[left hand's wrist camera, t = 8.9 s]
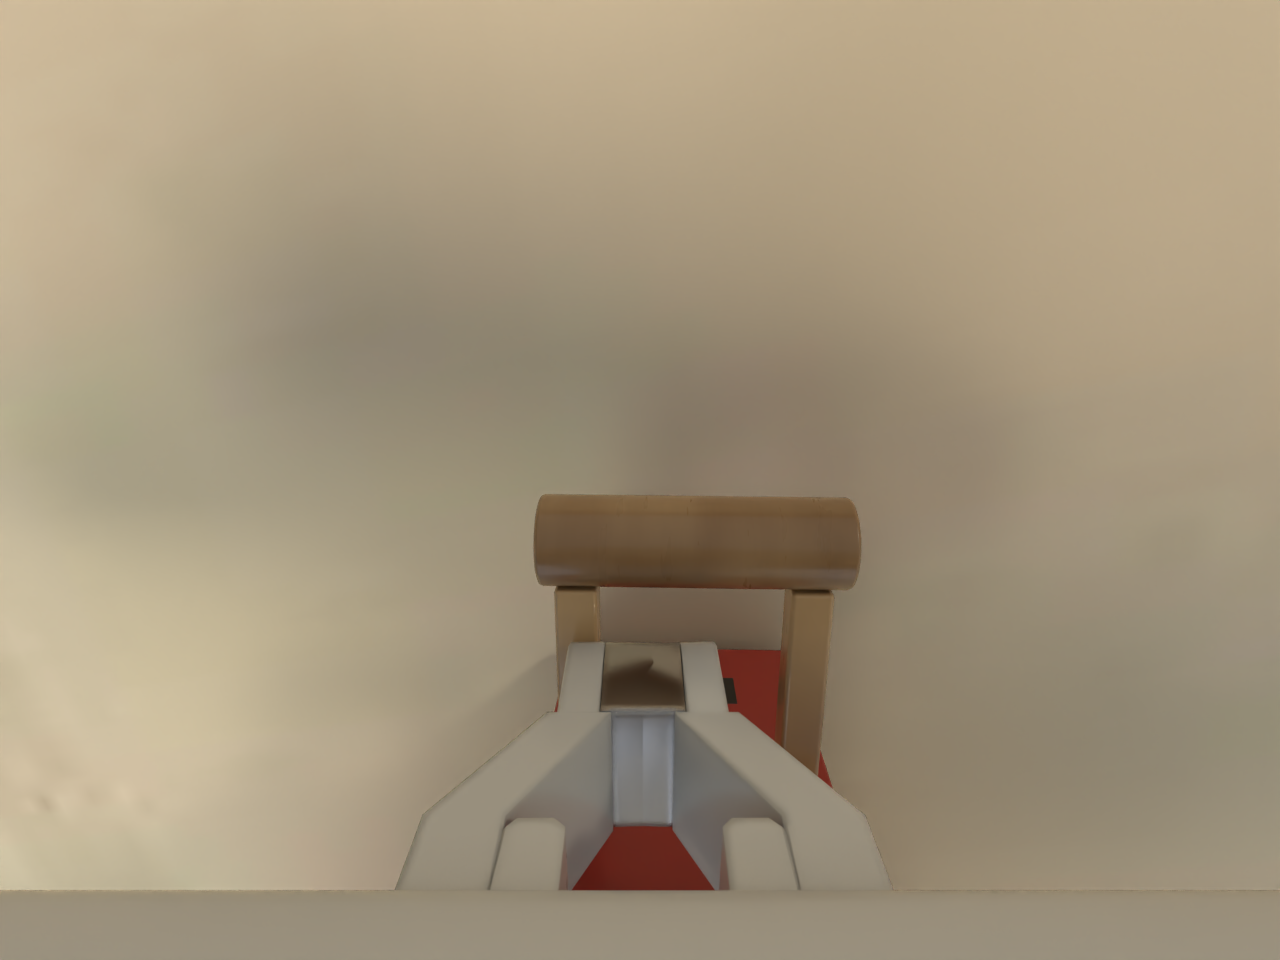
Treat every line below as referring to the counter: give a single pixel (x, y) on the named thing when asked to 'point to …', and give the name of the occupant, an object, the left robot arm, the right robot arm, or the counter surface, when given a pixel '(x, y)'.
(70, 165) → the counter surface
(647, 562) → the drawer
